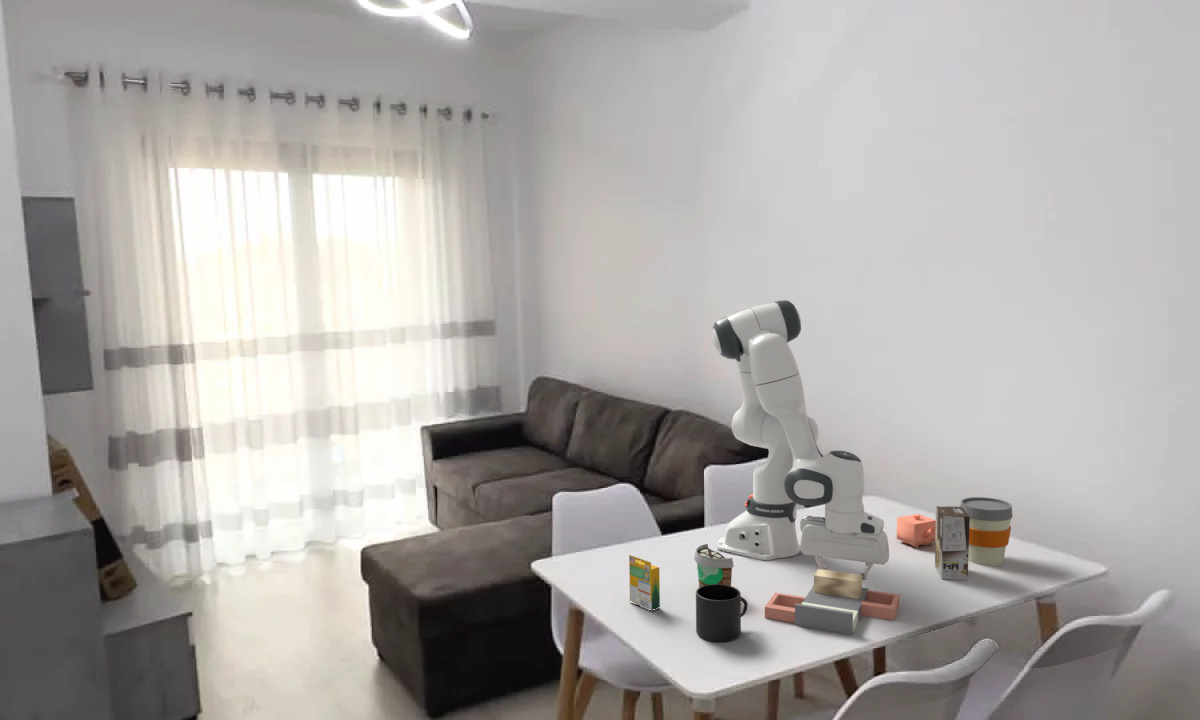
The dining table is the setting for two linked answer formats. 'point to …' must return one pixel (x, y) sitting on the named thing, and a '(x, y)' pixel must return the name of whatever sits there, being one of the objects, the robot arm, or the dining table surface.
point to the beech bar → (838, 583)
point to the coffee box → (952, 542)
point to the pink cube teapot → (916, 529)
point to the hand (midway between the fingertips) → (843, 576)
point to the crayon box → (644, 583)
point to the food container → (712, 567)
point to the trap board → (832, 609)
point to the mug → (719, 612)
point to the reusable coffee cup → (987, 529)
